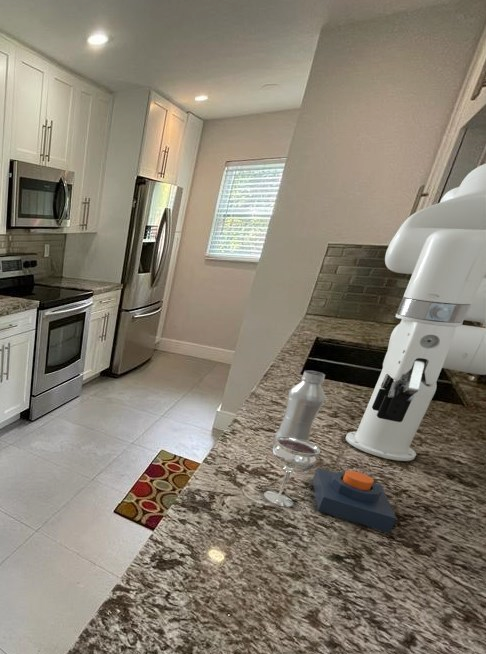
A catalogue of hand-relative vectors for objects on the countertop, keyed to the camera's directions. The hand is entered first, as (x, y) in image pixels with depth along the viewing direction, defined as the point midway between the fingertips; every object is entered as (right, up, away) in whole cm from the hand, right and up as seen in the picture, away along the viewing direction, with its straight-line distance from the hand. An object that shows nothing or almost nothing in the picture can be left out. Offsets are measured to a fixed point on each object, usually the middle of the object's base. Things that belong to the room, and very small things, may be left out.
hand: (386, 414), depth 72 cm
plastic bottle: (+1, -11, +25) cm, 27 cm away
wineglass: (-13, -17, +8) cm, 23 cm away
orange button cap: (-1, -14, +5) cm, 15 cm away
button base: (-1, -18, +7) cm, 19 cm away
